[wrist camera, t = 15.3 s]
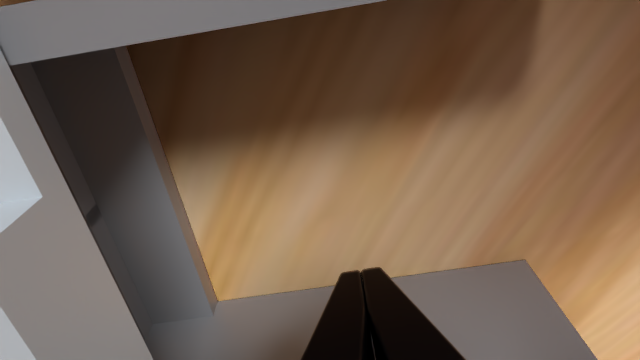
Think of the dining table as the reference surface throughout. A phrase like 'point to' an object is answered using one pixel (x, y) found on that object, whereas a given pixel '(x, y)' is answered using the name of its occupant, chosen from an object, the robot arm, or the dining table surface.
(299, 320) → the housing
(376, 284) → the robot arm
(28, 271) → the lid
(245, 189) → the dining table surface
